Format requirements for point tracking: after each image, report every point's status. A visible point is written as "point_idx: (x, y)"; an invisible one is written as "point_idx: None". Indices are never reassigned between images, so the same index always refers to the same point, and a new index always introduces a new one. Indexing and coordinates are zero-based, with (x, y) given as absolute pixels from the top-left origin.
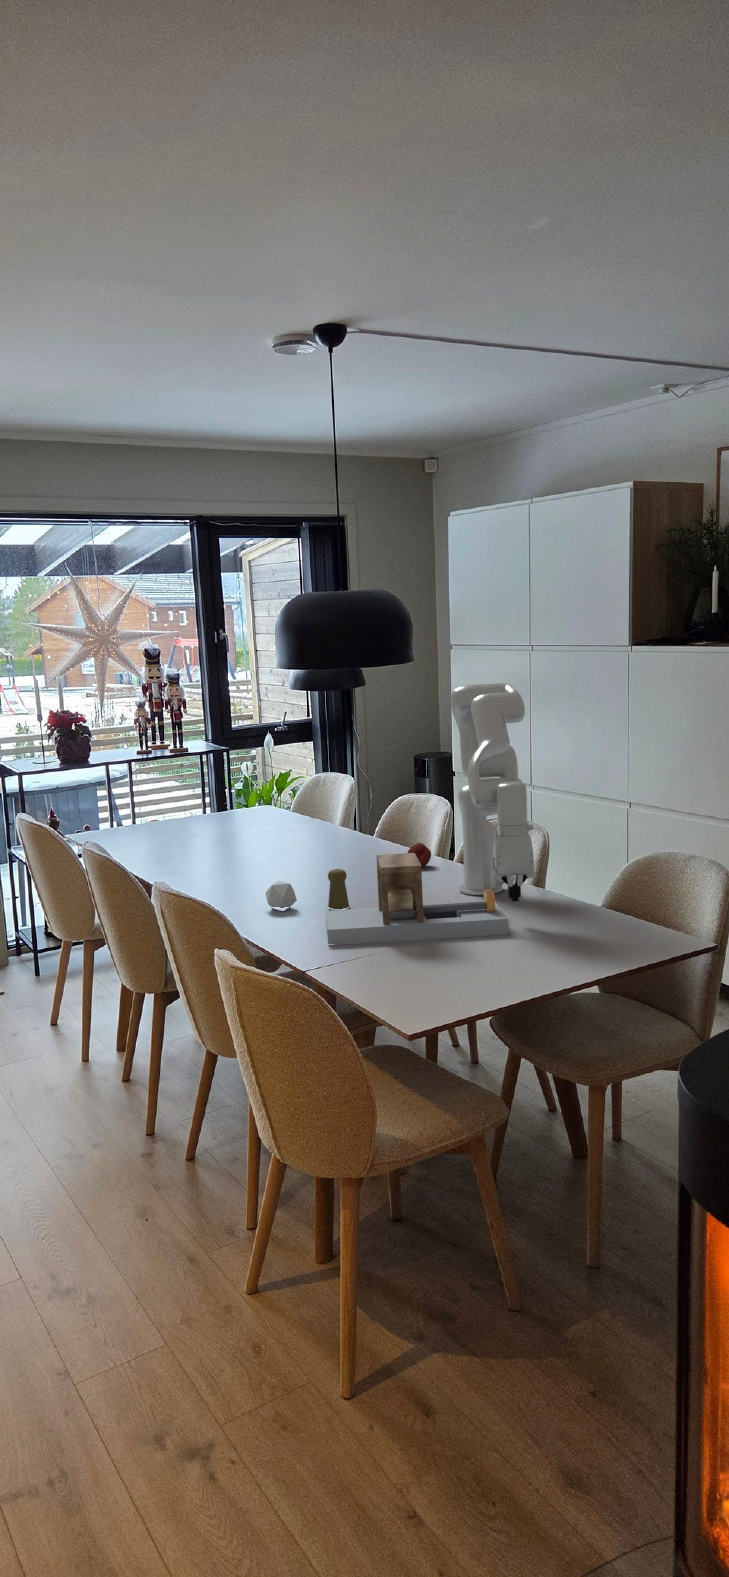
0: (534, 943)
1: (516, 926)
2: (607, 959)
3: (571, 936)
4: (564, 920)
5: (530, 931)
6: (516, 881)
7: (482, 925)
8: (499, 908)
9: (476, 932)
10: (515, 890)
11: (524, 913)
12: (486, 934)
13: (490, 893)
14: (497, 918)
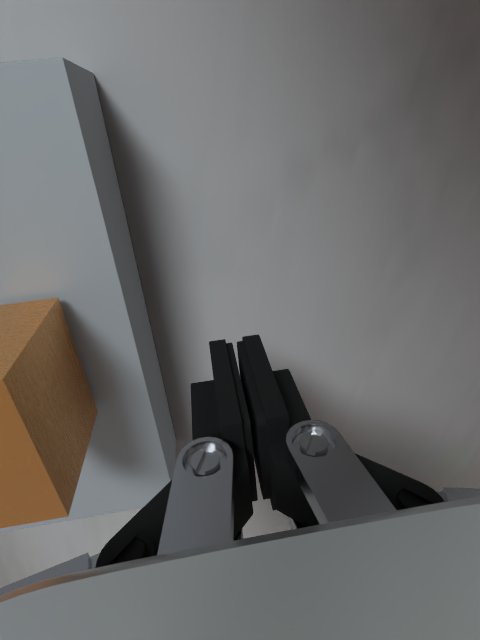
0: (261, 518)
1: (222, 338)
2: None
3: (403, 457)
4: (475, 255)
5: None
6: (295, 490)
7: None
8: (124, 326)
9: None
10: (256, 462)
11: (312, 56)
12: None
13: (25, 502)
14: (119, 499)
